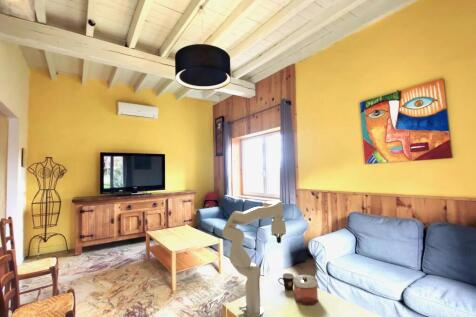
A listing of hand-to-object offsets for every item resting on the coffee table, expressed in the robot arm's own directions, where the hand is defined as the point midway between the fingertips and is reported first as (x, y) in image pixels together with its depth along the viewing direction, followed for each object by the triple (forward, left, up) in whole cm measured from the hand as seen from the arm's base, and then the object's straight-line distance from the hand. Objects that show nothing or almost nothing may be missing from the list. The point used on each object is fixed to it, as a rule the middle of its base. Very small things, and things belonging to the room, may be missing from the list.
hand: (278, 242), depth 176 cm
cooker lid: (+16, -7, -27) cm, 32 cm away
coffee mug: (+8, +10, -39) cm, 41 cm away
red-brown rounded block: (+16, -7, -39) cm, 43 cm away
